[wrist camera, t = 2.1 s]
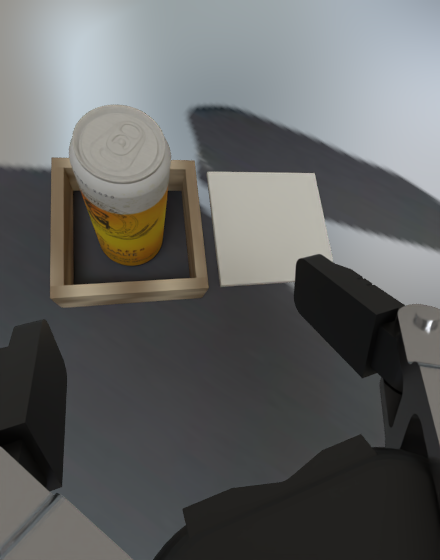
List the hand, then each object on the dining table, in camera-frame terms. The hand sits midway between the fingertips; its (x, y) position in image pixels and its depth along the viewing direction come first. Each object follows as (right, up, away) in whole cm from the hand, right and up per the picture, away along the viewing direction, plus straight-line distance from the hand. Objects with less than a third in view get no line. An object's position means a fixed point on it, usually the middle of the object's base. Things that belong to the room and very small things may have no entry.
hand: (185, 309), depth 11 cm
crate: (-8, +5, +23) cm, 25 cm away
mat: (+7, +7, +27) cm, 28 cm away
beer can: (-8, +5, +23) cm, 25 cm away
